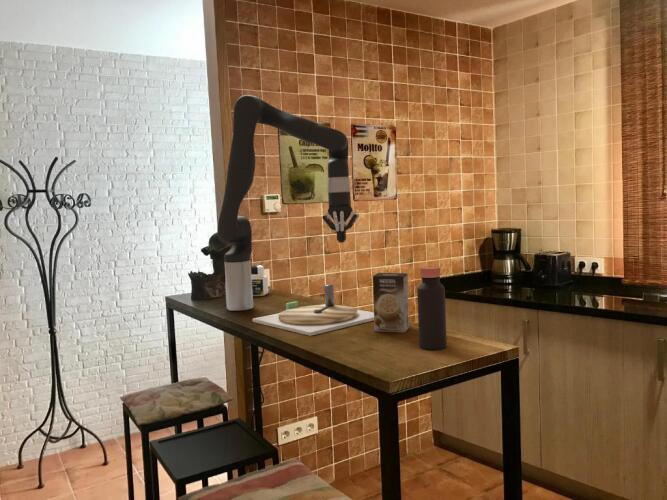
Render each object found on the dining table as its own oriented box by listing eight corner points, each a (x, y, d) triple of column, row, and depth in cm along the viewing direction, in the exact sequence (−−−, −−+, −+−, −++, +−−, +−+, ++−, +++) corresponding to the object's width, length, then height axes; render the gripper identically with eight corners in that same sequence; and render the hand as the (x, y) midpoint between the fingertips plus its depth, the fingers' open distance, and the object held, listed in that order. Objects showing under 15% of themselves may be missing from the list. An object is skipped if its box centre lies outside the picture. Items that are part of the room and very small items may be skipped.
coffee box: (373, 331, 166) (371, 275, 164) (379, 326, 172) (376, 272, 170) (405, 332, 163) (403, 275, 161) (410, 327, 169) (408, 272, 167)
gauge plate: (252, 321, 188) (251, 309, 187) (324, 306, 207) (324, 295, 207) (310, 335, 165) (309, 321, 164) (385, 317, 184) (384, 305, 184)
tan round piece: (342, 325, 170) (341, 298, 169) (265, 323, 178) (263, 297, 178) (367, 308, 193) (366, 284, 192) (297, 307, 202) (296, 284, 201)
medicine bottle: (246, 296, 238) (244, 266, 237) (252, 293, 245) (250, 264, 244) (263, 295, 237) (261, 266, 236) (268, 292, 244) (266, 264, 243)
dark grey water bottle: (428, 351, 142) (425, 270, 141) (414, 345, 149) (411, 267, 147) (452, 347, 145) (449, 267, 143) (436, 342, 151) (434, 265, 149)
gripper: (361, 190, 199) (363, 241, 200) (324, 191, 203) (327, 241, 205) (354, 190, 191) (356, 243, 193) (316, 192, 196) (319, 243, 198)
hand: (341, 242), depth 199 cm, fingers closed
